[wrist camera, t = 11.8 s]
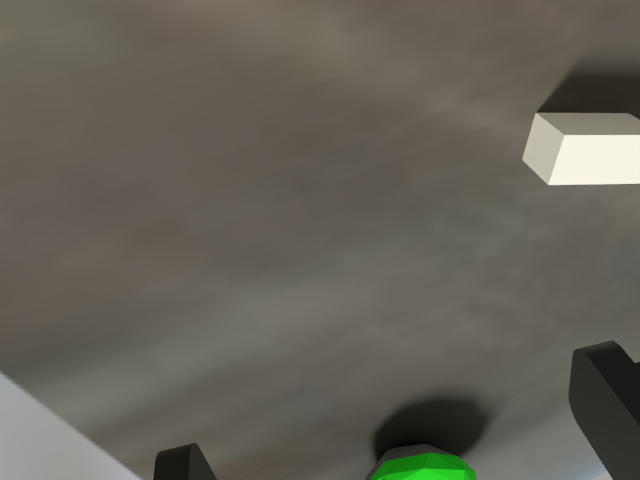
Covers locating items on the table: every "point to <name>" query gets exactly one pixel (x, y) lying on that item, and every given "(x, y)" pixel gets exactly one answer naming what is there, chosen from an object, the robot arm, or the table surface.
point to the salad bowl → (420, 465)
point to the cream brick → (584, 148)
